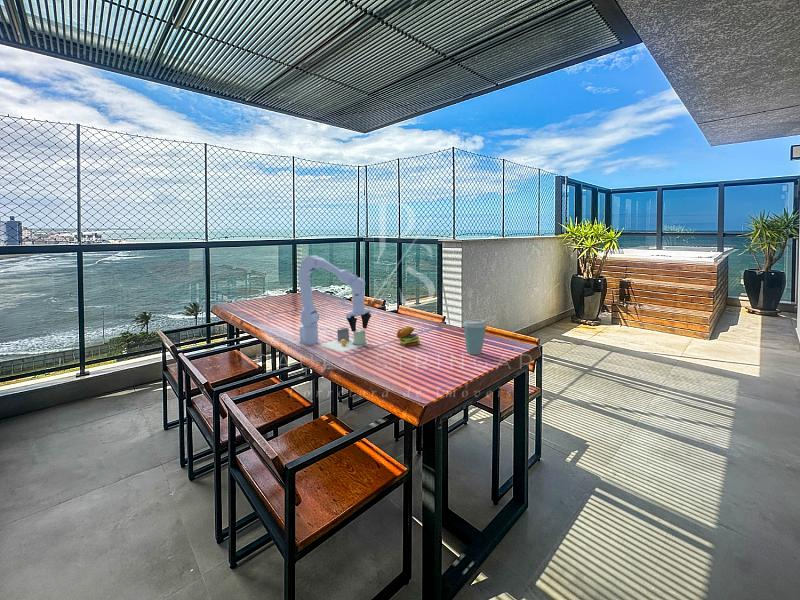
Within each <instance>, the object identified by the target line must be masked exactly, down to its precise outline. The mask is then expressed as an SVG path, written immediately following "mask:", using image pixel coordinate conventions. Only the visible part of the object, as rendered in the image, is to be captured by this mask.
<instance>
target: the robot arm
mask: <svg viewBox="0 0 800 600" xmlns="http://www.w3.org/2000/svg"><path fill="white" fill-rule="evenodd" d="M300 263H301V264H300V266H299V269H298V271H297V272H298V273H297V274H298V281H299V288H300V289H299V290H300V295H301V302H302V309H301V312H300V313H301V314H300V315H301V316H300V321H299V322H300V323H301V325H300V326H299V328H298V329H299V331H298V333H299V340H298V343H302V344H305V345H308V346H309V345H310V346H311V345H314V344H319V343H322V342H323V340H319V327H318V325H319V324H318V322H319V319H320V315H319V313H318V311H317V308H316V306H315V305H314V304H315V303H314V298H313V289H312V283H311V282H312V281H311V274H312V273H313V272H314V271H315V270H317V269H324V270H326V271H328V272H329V273H332V274H333V275H335V276H337V278H338V280H339V281H340V282H342V283H343V284H345V285H347V286H349V287H350V289H351V290H352V311H351V312H348V313H346V314H345V315H346V321H347V322H348V324H349V327H350V329H351V332H353V333H354V332H355V331H356V330H357V321H358V318H357V317H358V316H360V318H361V323H362V324H361V325H362V329H363V330H365V329H366V330H367V328H368V323H369V321H370V318H371V317H372V314H371V313H372V312H371V311H372V310H371V309H369V308H367V309H365V306H366V305H365V286H366V281H365V280H364V279H363V277H358V275H356V274H353V273H351V272H350V270H349V269H340V268H339V267H337V266H335V265H334V264H332V263H331V262H329V261H328V260H326V259H325V258H324V257H321V256H319V255H317V254H314V255H307V256H305V257H303V259H302V260H301V261H300Z"/></svg>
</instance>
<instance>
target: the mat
mask: <svg viewBox="0 0 800 600" xmlns="http://www.w3.org/2000/svg"><path fill="white" fill-rule="evenodd" d="M353 342H354V338H351V337H349V341H347V343H346V345H342V344H341V342H340V341H338V339H336V340H331V341H328V342H325V343H322V344H318V345H317V346H318V347H321V348H325V349H326V348H327V349H328V350H329V349H330V350H332V351H336V352H339V353H345V352H348V351H351V350H353V349H358V348H361V347H363V346H367V345H369V344H371V342H369V341H366V342H367V344H365V345H353Z"/></svg>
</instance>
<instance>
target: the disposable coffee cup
mask: <svg viewBox="0 0 800 600" xmlns="http://www.w3.org/2000/svg"><path fill="white" fill-rule="evenodd" d="M462 325H463V332H464V333H463V334H464V342H465V349H466V352H467V354H468V355H473V356H474V355H480V354H482V352H483V345H484V340H485V335H486V334H485V333H486V331H487V330H486V329H487V323H486V320H485V319H468V320H465V321H464V322H463V324H462Z"/></svg>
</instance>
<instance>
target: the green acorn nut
mask: <svg viewBox="0 0 800 600" xmlns="http://www.w3.org/2000/svg"><path fill="white" fill-rule="evenodd" d="M353 339H354V344H357V345H358V344H365V343H366V342H367V341H366V339H367V338H366V330H365V329H356V331H355V332H353Z"/></svg>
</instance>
